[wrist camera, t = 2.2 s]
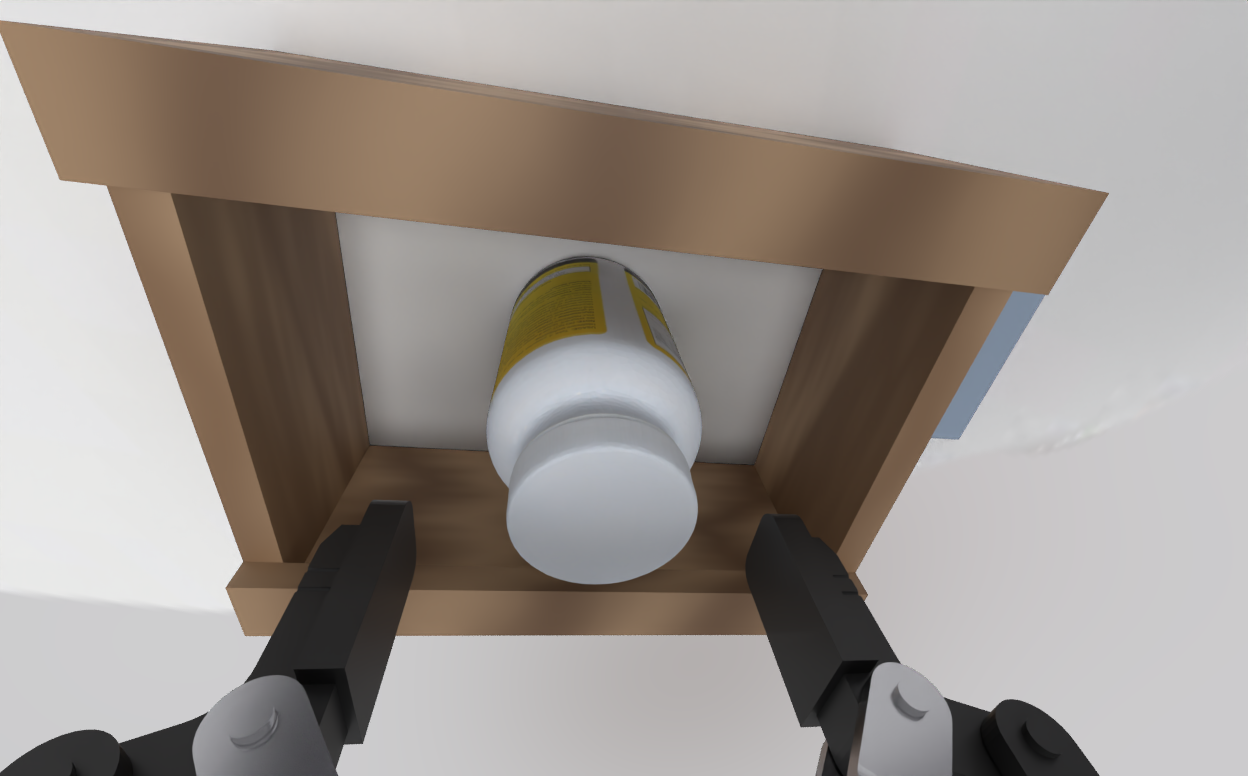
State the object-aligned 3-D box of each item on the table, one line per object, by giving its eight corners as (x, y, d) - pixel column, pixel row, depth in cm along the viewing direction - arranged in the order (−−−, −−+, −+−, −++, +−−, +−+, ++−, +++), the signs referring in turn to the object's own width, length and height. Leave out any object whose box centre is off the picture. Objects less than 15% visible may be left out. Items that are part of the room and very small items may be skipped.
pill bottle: (483, 339, 22) (411, 551, 12) (569, 218, 19) (569, 356, 10) (601, 410, 24) (622, 634, 14) (690, 310, 22) (789, 496, 12)
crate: (894, 149, 19) (1108, 193, 12) (768, 483, 28) (844, 634, 20) (271, 50, 16) (-6, 19, 8) (346, 463, 25) (245, 636, 17)
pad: (1047, 275, 23) (1054, 278, 22) (953, 435, 27) (958, 439, 27) (866, 253, 21) (871, 256, 21) (799, 425, 26) (802, 429, 26)
